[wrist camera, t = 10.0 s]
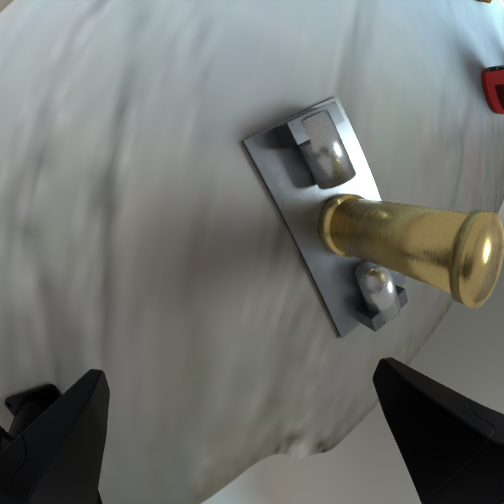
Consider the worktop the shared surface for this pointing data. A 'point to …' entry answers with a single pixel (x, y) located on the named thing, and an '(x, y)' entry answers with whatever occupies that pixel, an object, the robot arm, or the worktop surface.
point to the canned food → (494, 87)
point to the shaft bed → (313, 202)
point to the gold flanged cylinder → (419, 243)
